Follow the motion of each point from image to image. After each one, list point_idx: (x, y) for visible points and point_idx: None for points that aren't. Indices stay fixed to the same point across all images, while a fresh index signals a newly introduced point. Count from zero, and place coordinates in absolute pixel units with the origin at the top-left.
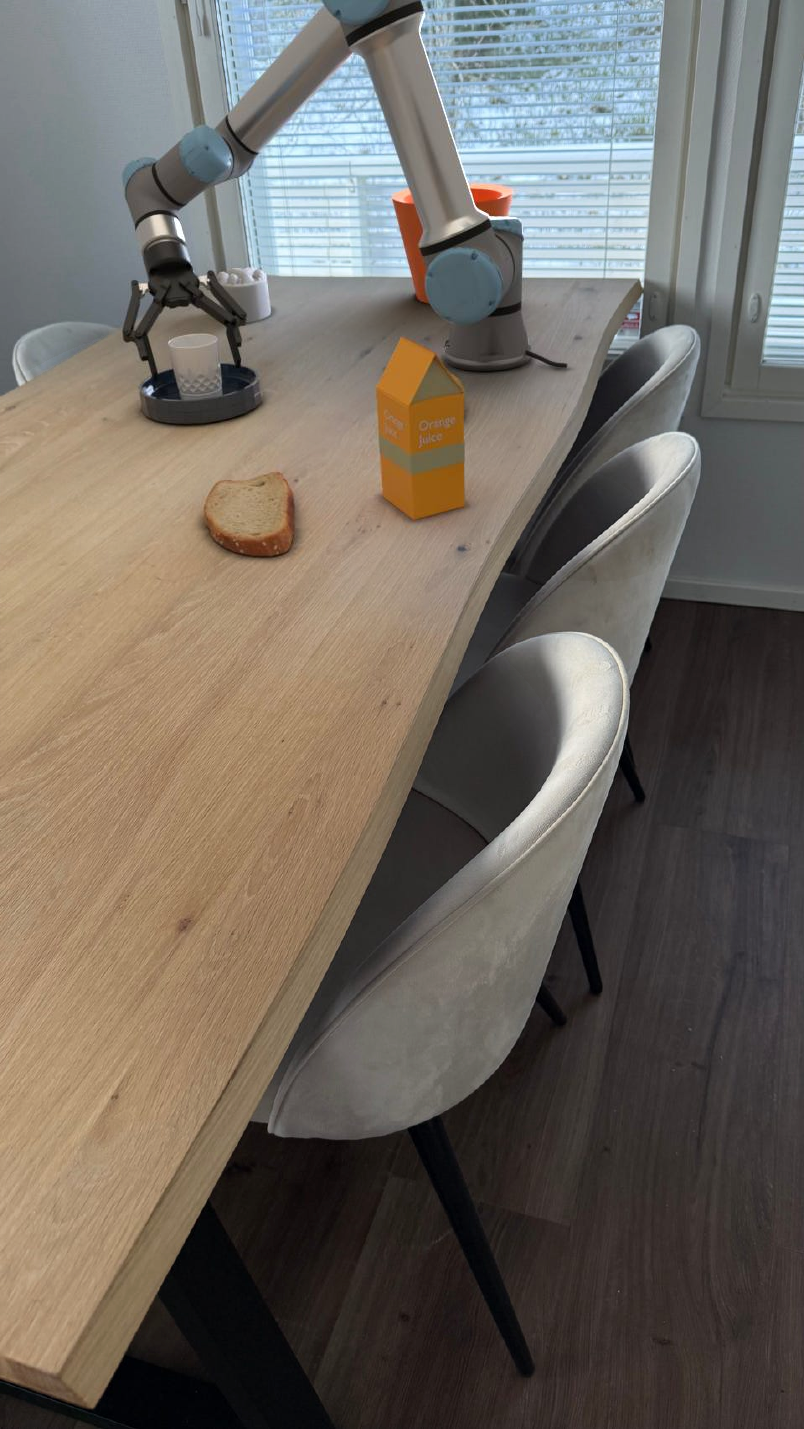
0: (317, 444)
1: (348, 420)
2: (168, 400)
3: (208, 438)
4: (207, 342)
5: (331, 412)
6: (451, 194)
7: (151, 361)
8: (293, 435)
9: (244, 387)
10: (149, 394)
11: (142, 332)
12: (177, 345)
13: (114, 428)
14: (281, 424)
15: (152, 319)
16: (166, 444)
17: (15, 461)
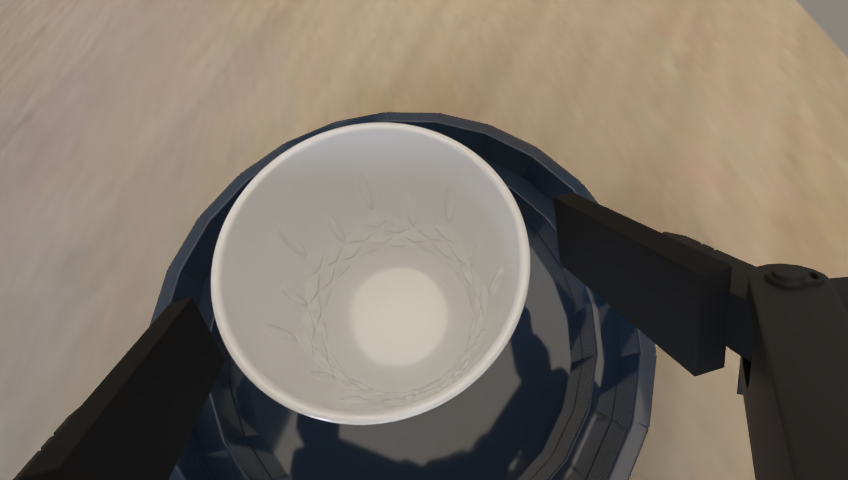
0: (149, 26)
1: (33, 134)
2: (484, 124)
3: (376, 83)
4: (293, 382)
5: (47, 192)
6: None
7: (597, 209)
8: (184, 72)
9: (243, 442)
10: (601, 332)
11: (758, 285)
12: (485, 346)
13: (648, 181)
14: (194, 136)
15: (774, 446)
16: (473, 66)
17: (812, 29)
